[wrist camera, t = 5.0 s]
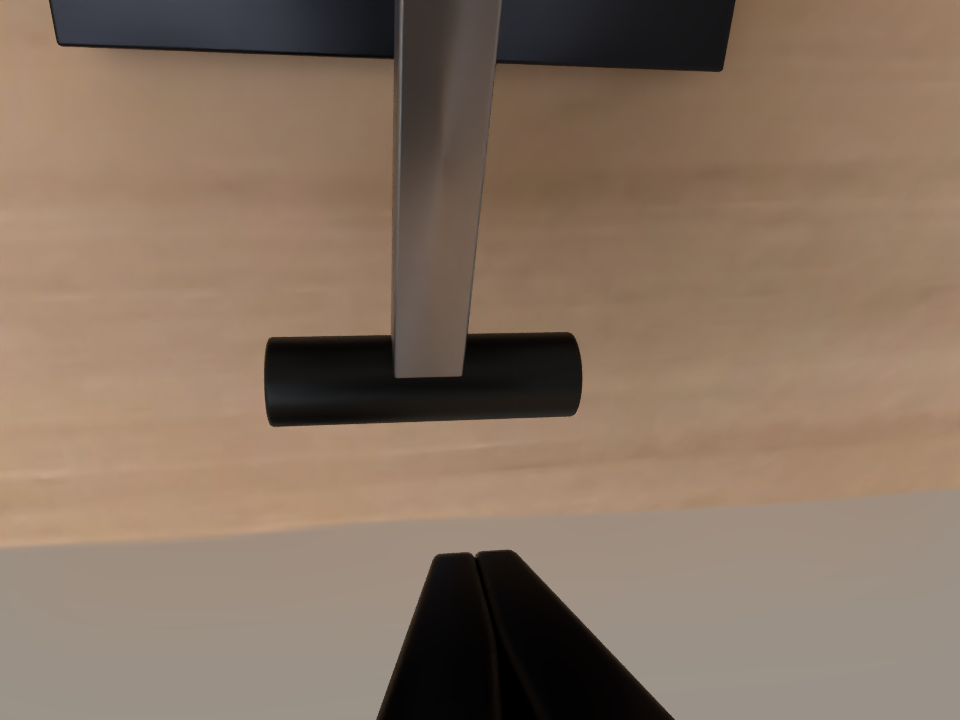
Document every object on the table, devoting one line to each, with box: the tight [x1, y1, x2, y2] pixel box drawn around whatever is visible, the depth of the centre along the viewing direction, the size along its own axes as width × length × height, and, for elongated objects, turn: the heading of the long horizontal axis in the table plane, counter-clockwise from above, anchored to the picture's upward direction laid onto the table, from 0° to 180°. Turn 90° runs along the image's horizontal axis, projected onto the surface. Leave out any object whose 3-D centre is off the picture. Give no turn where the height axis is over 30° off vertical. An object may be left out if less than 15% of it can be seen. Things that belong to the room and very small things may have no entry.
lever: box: [264, 0, 582, 427], centre depth 9 cm, size 12×5×2 cm, turn 177°
